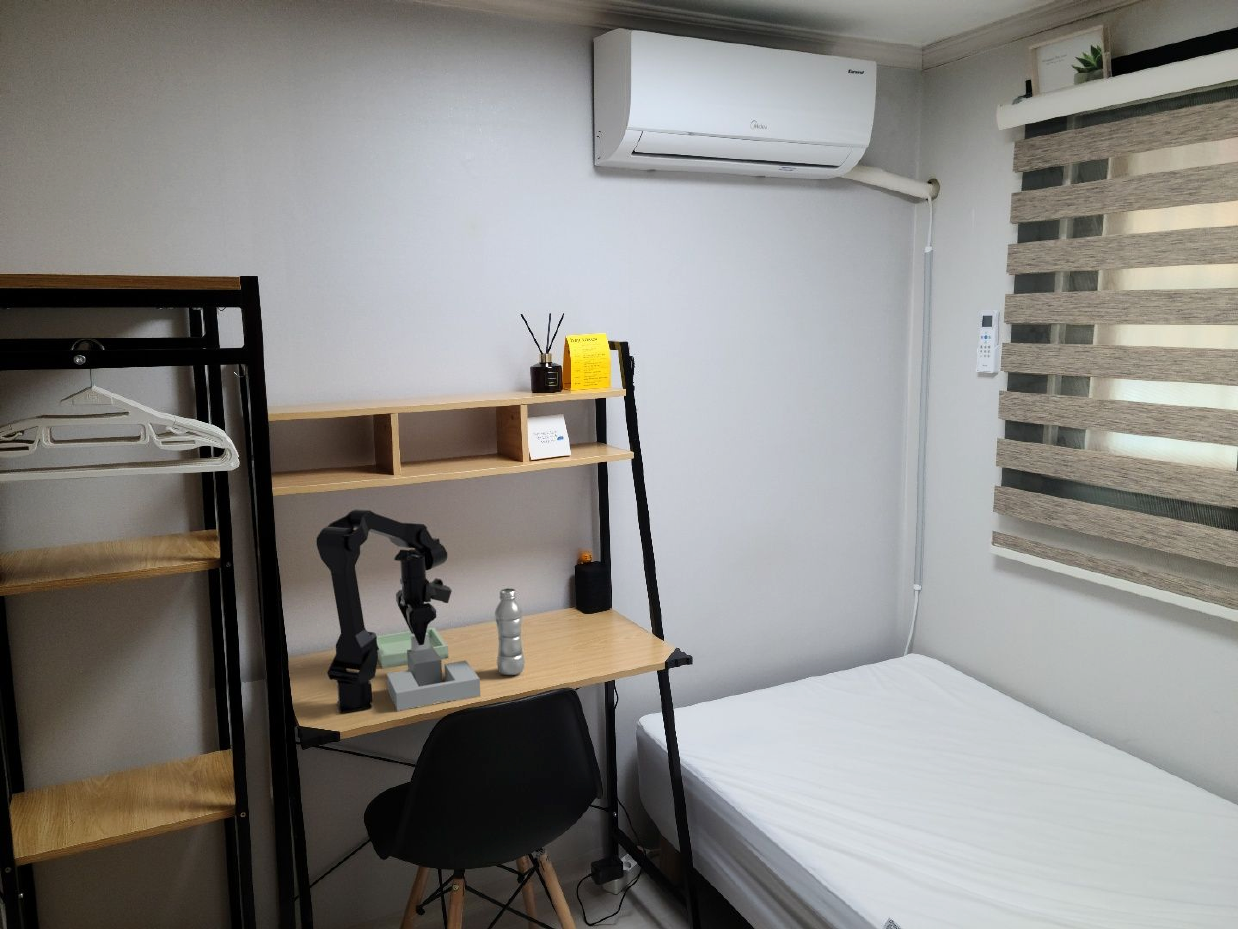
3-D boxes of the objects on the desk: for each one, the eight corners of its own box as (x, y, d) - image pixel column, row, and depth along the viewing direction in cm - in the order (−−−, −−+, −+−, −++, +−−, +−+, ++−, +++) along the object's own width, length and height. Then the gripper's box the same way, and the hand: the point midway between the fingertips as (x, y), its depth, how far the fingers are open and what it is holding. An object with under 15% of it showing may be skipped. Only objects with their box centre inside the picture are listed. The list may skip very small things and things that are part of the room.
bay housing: (397, 711, 190) (396, 693, 190) (387, 690, 202) (386, 673, 201) (480, 696, 197) (479, 678, 197) (466, 676, 209) (465, 660, 208)
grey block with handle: (416, 689, 202) (413, 649, 201) (408, 674, 211) (405, 635, 210) (442, 684, 205) (440, 644, 203) (433, 670, 214) (431, 632, 212)
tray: (382, 668, 215) (381, 656, 215) (372, 648, 230) (371, 636, 229) (448, 657, 221) (447, 646, 221) (435, 638, 236) (434, 627, 235)
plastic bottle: (499, 680, 206) (495, 595, 203) (495, 669, 212) (491, 588, 210) (527, 676, 208) (523, 592, 205) (522, 666, 214) (518, 585, 211)
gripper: (456, 580, 206) (460, 645, 208) (439, 562, 223) (442, 622, 225) (407, 587, 202) (411, 653, 204) (393, 568, 219) (397, 629, 221)
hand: (417, 639), depth 214 cm, fingers open, 9 cm apart
